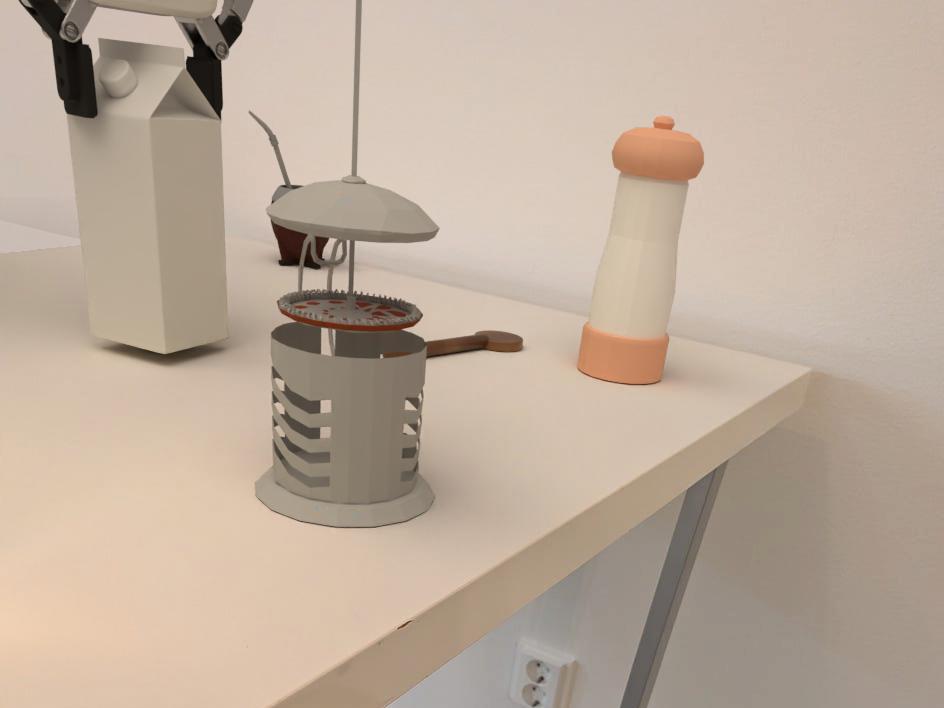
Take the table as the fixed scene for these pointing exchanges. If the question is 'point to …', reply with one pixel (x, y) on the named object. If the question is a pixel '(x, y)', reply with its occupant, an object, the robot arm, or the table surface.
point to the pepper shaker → (640, 255)
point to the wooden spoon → (469, 344)
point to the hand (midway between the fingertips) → (146, 119)
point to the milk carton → (151, 202)
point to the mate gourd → (287, 238)
